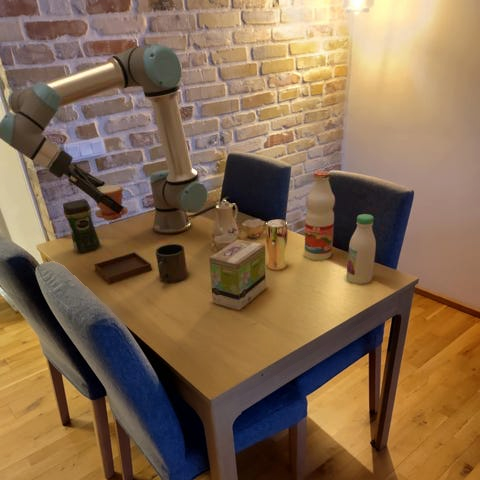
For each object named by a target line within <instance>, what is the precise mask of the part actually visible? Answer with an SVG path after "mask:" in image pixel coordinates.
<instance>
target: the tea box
mask: <svg viewBox="0 0 480 480" xmlns="http://www.w3.org/2000/svg"><path fill="white" fill-rule="evenodd" d="M208 259H209V260H208V261H209V273H210V286H211V287H210V288H211V300H212V303H214V304H216V305H220V306H223V307H226V308H230V309H234V310H238V311H241V309H242V308H244V307H245V306H246V305H247V304H248V303H250V302H251V301H253V299H255V298H256V297H257V296H258V295H259V294H260V293H262V292H263V291H264V290H265V289H266V287H267V286H266V245H265V244H264V243H258V242H254V241H249V240H243V239H239V238H238V239H237V240H236V241H234V242H233V243H231V244H229V245H228V246H226V247H225V248H223V249H222V250H220V251H219V250H218V251H216V252H214V254H212V255H210V256H209V258H208Z"/></svg>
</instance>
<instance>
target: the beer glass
mask: <svg viewBox="0 0 480 480" xmlns="http://www.w3.org/2000/svg"><path fill="white" fill-rule="evenodd" d="M288 234H289V233H288V222H287V221H286V220H284V219H271V220H268V221H266V222H265V242H266V247H267V252H268V262H267V267H268V268H269V269H270V270H272V271H273V270H274V271H279V270H280V271H281V270H283V269H285V268H286V267H287V262H286V251H287V246H288V237H289V236H288Z"/></svg>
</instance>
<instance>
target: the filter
mask: <svg viewBox="0 0 480 480" xmlns="http://www.w3.org/2000/svg"><path fill="white" fill-rule="evenodd" d="M97 189H98V190H100V191H101V192H102V193H103V194H104V195H105V194H106V195H108V196H109V197H110V198H112V199H113V200H115V201H116V202H118V203H119V204H120V205H122V204H123V198H124V196H123V195H124V194H123V191H124V189H123V186H122V185H117V184H107V185H105V186H100V187H97ZM97 196H98V195H97ZM93 202H95V203H96V201H95V200H94V199H93ZM96 206H97V208H99V209H97V210H96V211H95V212H94V214H95V217H96V218H99V219H103V220H104V221H116V220H119V219H121V218H122V216H124V215H126V214H127V213H128V207H126V206H123V207H124V208H123V209H122V211H121V212H120V213H119V214H117V213H116V212H115V211H113V210H112V209H110V208H109V207H107V206H106V205H104V204H103V203H101V202H100V203H99V204H98V203H96Z"/></svg>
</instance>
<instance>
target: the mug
mask: <svg viewBox="0 0 480 480" xmlns="http://www.w3.org/2000/svg"><path fill="white" fill-rule="evenodd" d="M155 257H156V264H157V268H158V270H157V271H158V275H159V281H160V283H163V282H164V283H168V284H169V283H170V284H173V283H174V284H175V283H179V282H181V281H184V280H185V279H186V278H187V277H188V267H187V259H186V253H185V248H184V246H183V245H181V244H179V243H178V244H177V243H169V244H164V245H161V246H159V247H157V248H156V249H155Z"/></svg>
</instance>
